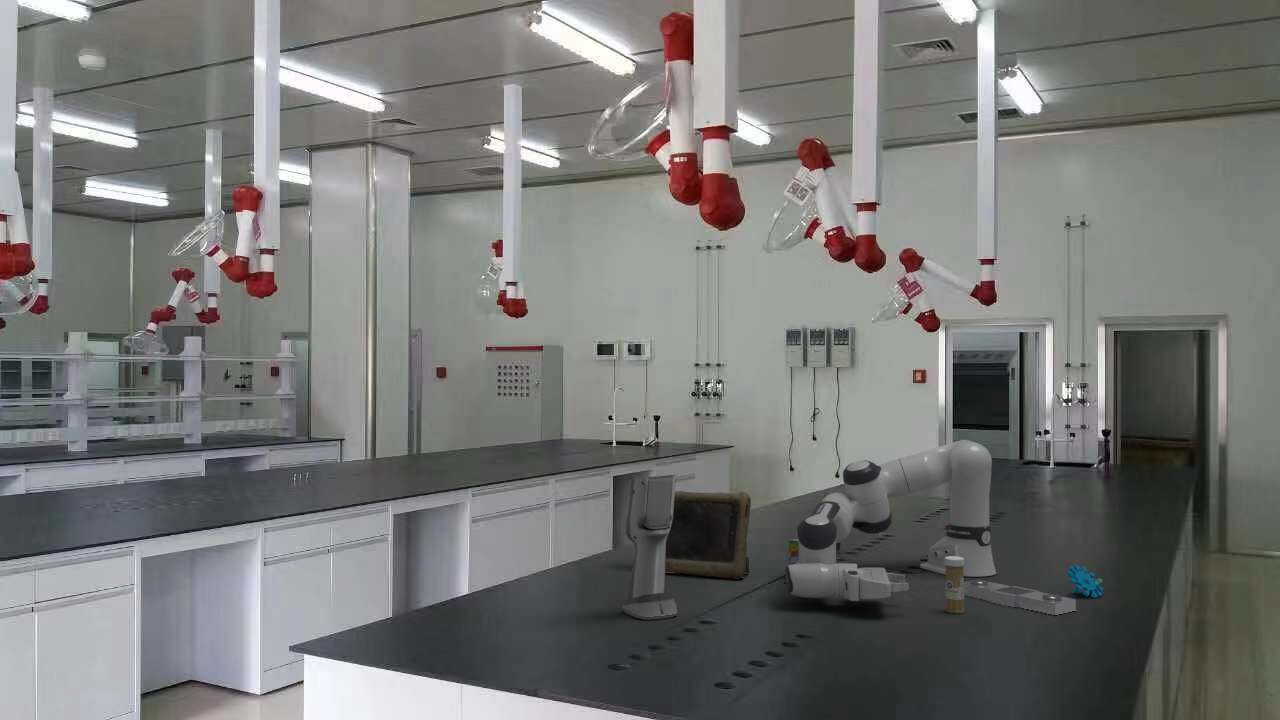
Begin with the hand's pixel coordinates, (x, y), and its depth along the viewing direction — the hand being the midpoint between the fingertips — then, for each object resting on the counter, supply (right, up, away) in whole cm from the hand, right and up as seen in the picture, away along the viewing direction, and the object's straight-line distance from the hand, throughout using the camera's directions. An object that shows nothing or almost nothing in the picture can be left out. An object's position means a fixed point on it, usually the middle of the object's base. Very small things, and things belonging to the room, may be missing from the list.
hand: (907, 582), depth 244 cm
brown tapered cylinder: (-5, -9, +81) cm, 81 cm away
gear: (+51, -7, +14) cm, 53 cm away
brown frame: (-50, -9, +50) cm, 71 cm away
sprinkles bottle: (+11, -7, -2) cm, 14 cm away
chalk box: (-17, -8, +39) cm, 43 cm away
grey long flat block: (+30, -7, +7) cm, 31 cm away
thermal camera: (-64, -8, +1) cm, 65 cm away
